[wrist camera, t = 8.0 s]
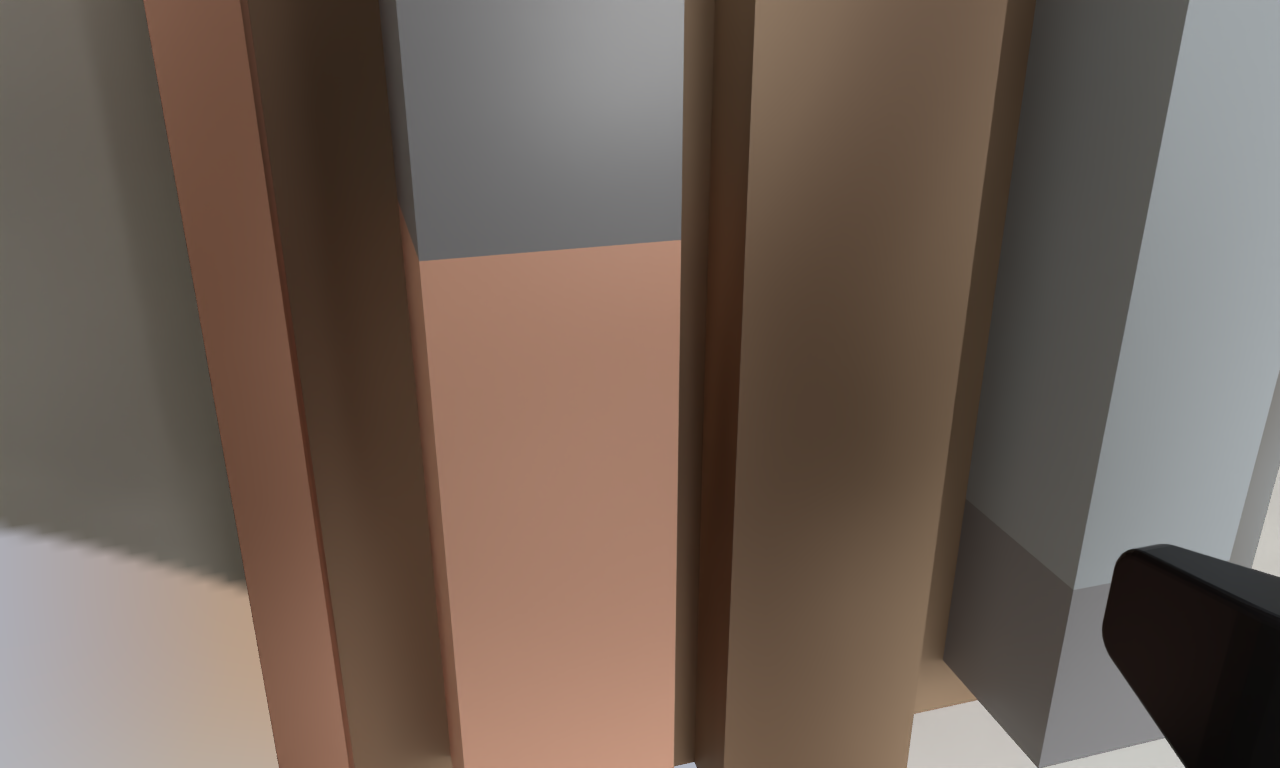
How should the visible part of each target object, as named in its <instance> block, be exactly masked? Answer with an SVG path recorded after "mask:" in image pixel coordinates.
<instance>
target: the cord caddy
mask: <svg viewBox="0 0 1280 768" xmlns="http://www.w3.org/2000/svg"><path fill="white" fill-rule="evenodd" d="M143 2H144V7H145V13H146V19H147V24H148V30H149V36H150V41H151V47H152V52H153V58H154V64H155V69H156V75H157V81H158V86H159V92H160V98H161V103H162V109H163V115H164V120H165V126H166V132H167V137H168V143H169V149H170V154H171V160H172V165H173V171H174V177H175V182H176V188H177V194H178V199H179V205H180V211H181V216H182V222H183V228H184V233H185V239H186V245H187V250H188V256H189V262H190V267H191V273H192V278H193V284H194V290H195V295H196V301H197V307H198V312H199V318H200V324H201V329H202V335H203V341H204V346H205V352H206V358H207V363H208V369H209V375H210V380H211V386H212V391H213V397H214V403H215V408H216V414H217V420H218V425H219V431H220V437H221V442H222V448H223V454H224V459H225V465H226V471H227V476H228V482H229V488H230V493H231V499H232V504H233V510H234V516H235V521H236V527H237V533H238V538H239V544H240V550H241V555H242V561H243V567H244V572H245V578H246V584H247V589H248V595H249V601H250V606H251V611H252V617H253V623H254V629H255V634H256V640H257V646H258V651H259V657H260V663H261V668H262V674H263V680H264V685H265V691H266V696H267V702H268V708H269V713H270V719H271V724H272V730H273V736H274V742H275V747H276V753H277V759H278V764H279V768H453V766H452V760H451V754H450V743H449V733H448V722H447V712H446V701H445V691H444V680H443V670H442V659H441V649H440V638H439V628H438V617H437V607H436V596H435V586H434V575H433V565H432V554H431V544H430V533H429V523H428V512H427V502H426V491H425V481H424V470H423V460H422V449H421V439H420V428H419V418H418V407H417V397H416V386H415V376H414V365H413V355H412V344H411V334H410V323H409V313H408V302H407V292H406V281H405V271H404V260H403V250H402V240H401V229H400V219H399V208H398V198H397V187H396V177H395V166H394V156H393V145H392V135H391V124H390V114H389V103H388V93H387V82H386V72H385V61H384V51H383V40H382V30H381V19H380V9H379V0H143ZM1035 6H1036V0H684V70H683V142H682V213H681V285H680V356H679V427H678V499H677V570H676V642H675V713H674V766H678V765H682V764H687V763H691V762H695V764H696V766H697V768H907V761H908V754H909V746H910V738H911V731H912V723H913V716H914V714H916V713H920V712H925V711H929V710H934V709H938V708H943V707H948V706H952V705H957V704H961V703H966V702H971V701H975V700H978V699H977V698H976V697H975V696H974V695H973V694H972V693H971V692H970V690H969V689H968V688H967V687H966V686H965V685H964V684H963V682H962V681H961V680H960V679H959V678H958V677H957V676H956V675H955V673H954V672H953V671H952V670H951V669H950V668H949V667H948V666H947V664H946V663H945V662H944V661H943V655H944V648H945V641H946V634H947V627H948V620H949V613H950V606H951V599H952V591H953V584H954V577H955V570H956V563H957V556H958V549H959V542H960V535H961V528H962V521H963V514H964V507H965V500H966V493H967V486H968V479H969V472H970V465H971V457H972V450H973V443H974V436H975V429H976V422H977V415H978V408H979V401H980V394H981V387H982V380H983V373H984V366H985V359H986V352H987V345H988V338H989V330H990V323H991V316H992V309H993V302H994V295H995V288H996V281H997V274H998V267H999V260H1000V253H1001V246H1002V239H1003V232H1004V225H1005V218H1006V211H1007V204H1008V196H1009V189H1010V182H1011V175H1012V168H1013V161H1014V154H1015V147H1016V140H1017V133H1018V126H1019V119H1020V112H1021V105H1022V98H1023V91H1024V84H1025V77H1026V70H1027V62H1028V55H1029V48H1030V41H1031V34H1032V27H1033V20H1034V13H1035ZM1279 466H1280V370H1279V374H1278V378H1277V382H1276V386H1275V389H1274V393H1273V397H1272V401H1271V405H1270V408H1269V412H1268V416H1267V420H1266V424H1265V427H1264V431H1263V435H1262V439H1261V443H1260V446H1259V450H1258V454H1257V458H1256V462H1255V465H1254V469H1253V473H1252V477H1251V481H1250V484H1249V488H1248V492H1247V496H1246V500H1245V503H1244V507H1243V511H1242V515H1241V519H1240V522H1239V526H1238V530H1237V534H1236V538H1235V541H1234V545H1233V549H1232V553H1231V557H1230V560H1229V562H1231V563H1234V564H1238V565H1241V566H1244V567H1248V568H1252V564H1253V560H1254V557H1255V553H1256V549H1257V546H1258V542H1259V539H1260V535H1261V531H1262V528H1263V524H1264V520H1265V517H1266V513H1267V509H1268V506H1269V502H1270V498H1271V495H1272V491H1273V487H1274V484H1275V480H1276V476H1277V473H1278V469H1279Z"/></svg>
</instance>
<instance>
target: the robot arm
mask: <svg viewBox="0 0 1280 768" xmlns="http://www.w3.org/2000/svg"><path fill="white" fill-rule="evenodd" d="M1102 638H1103V642H1104V646H1105V648H1106V650H1107V653H1108V655H1109V656H1110V658H1111V660H1112V661H1113V662H1114V664H1115V665H1116V667H1117V668H1118V670H1119V671H1120V673H1121V674H1122V676H1123V677H1124V679H1125V680H1126V681H1127V683H1128V684H1129V686H1130V687H1131V689H1132V690H1133V692H1134V693H1135V695H1136V696H1137V698H1138V699H1139V700H1140V702H1141V703H1142V705H1143V706H1144V708H1145V709H1146V711H1147V712H1148V714H1149V715H1150V717H1151V718H1152V719H1153V721H1154V722H1155V724H1156V725H1157V727H1158V728H1159V730H1160V731H1161V733H1162V734H1163V736H1164V737H1165V738H1166V740H1167V741H1168V743H1169V744H1170V746H1171V747H1172V749H1173V750H1174V752H1175V753H1176V755H1177V756H1178V757H1179V759H1180V760H1181V762H1182V763H1183V765H1184V766H1185V768H1280V577H1277V576H1274V575H1271V574H1267V573H1264V572H1261V571H1257V570H1254V569H1251V568H1248V567H1244V566H1241V565H1238V564H1234V563H1231V562H1228V561H1225V560H1221V559H1218V558H1215V557H1211V556H1208V555H1205V554H1201V553H1198V552H1195V551H1192V550H1188V549H1185V548H1182V547H1178V546H1175V545H1171V544H1155V545H1150V546H1145V547H1139V548H1134V549H1130V550H1127V551H1125V552H1124V553H1122V554H1121V555H1120V557H1119V558H1118V560H1117V561H1116V563H1115V566H1114V571H1113V575H1112V580H1111V585H1110V589H1109V594H1108V599H1107V604H1106V608H1105V613H1104V618H1103V623H1102Z"/></svg>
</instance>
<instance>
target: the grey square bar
mask: <svg viewBox="0 0 1280 768" xmlns="http://www.w3.org/2000/svg"><path fill="white" fill-rule="evenodd" d="M1279 370H1280V0H1036V6H1035V13H1034V20H1033V27H1032V34H1031V41H1030V48H1029V55H1028V62H1027V70H1026V77H1025V84H1024V91H1023V98H1022V105H1021V112H1020V119H1019V126H1018V133H1017V140H1016V147H1015V154H1014V161H1013V168H1012V175H1011V182H1010V189H1009V196H1008V204H1007V211H1006V218H1005V225H1004V232H1003V239H1002V246H1001V253H1000V260H999V267H998V274H997V281H996V288H995V295H994V302H993V309H992V316H991V323H990V330H989V338H988V345H987V352H986V359H985V366H984V373H983V380H982V387H981V394H980V401H979V408H978V415H977V422H976V429H975V436H974V443H973V450H972V457H971V465H970V472H969V479H968V486H967V493H966V500H965V507H964V514H963V521H962V528H961V535H960V542H959V549H958V556H957V563H956V570H955V577H954V584H953V591H952V599H951V606H950V613H949V620H948V627H947V634H946V641H945V648H944V655H943V661H944V662H945V663H946V664H947V666H948V667H949V668H950V669H951V670H952V671H953V672H954V673H955V675H956V676H957V677H958V678H959V679H960V680H961V681H962V682H963V684H964V685H965V686H966V687H967V688H968V689H969V690H970V692H971V693H972V694H973V695H974V696H975V697H976V698H977V699H978V701H979V702H980V703H981V704H982V705H983V706H984V707H985V709H986V710H987V711H988V712H989V713H990V714H991V715H992V716H993V718H994V719H995V720H996V721H997V722H998V723H999V724H1000V726H1001V727H1002V728H1003V729H1004V730H1005V731H1006V732H1007V733H1008V735H1009V736H1010V737H1011V738H1012V739H1013V740H1014V741H1015V743H1016V744H1017V745H1018V746H1019V747H1020V748H1021V749H1022V750H1023V752H1024V753H1025V754H1026V755H1027V756H1028V757H1029V758H1030V760H1031V761H1032V762H1033V763H1034V764H1035V765H1036V766H1037V767H1038V768H1043V767H1047V766H1051V765H1055V764H1059V763H1063V762H1068V761H1072V760H1076V759H1080V758H1084V757H1088V756H1092V755H1096V754H1101V753H1105V752H1109V751H1113V750H1117V749H1121V748H1125V747H1129V746H1134V745H1138V744H1142V743H1146V742H1150V741H1154V740H1158V739H1162V738H1165V737H1164V736H1163V734H1162V733H1161V731H1160V730H1159V728H1158V727H1157V725H1156V724H1155V722H1154V721H1153V719H1152V718H1151V717H1150V715H1149V714H1148V712H1147V711H1146V709H1145V708H1144V706H1143V705H1142V703H1141V702H1140V700H1139V699H1138V698H1137V696H1136V695H1135V693H1134V692H1133V690H1132V689H1131V687H1130V686H1129V684H1128V683H1127V681H1126V680H1125V679H1124V677H1123V676H1122V674H1121V673H1120V671H1119V670H1118V668H1117V667H1116V665H1115V664H1114V662H1113V661H1112V660H1111V658H1110V656H1109V655H1108V653H1107V650H1106V648H1105V646H1104V642H1103V638H1102V623H1103V618H1104V613H1105V608H1106V604H1107V599H1108V594H1109V589H1110V585H1111V580H1112V575H1113V571H1114V566H1115V563H1116V561H1117V560H1118V558H1119V557H1120V555H1121V554H1122V553H1124V552H1125V551H1127V550H1130V549H1134V548H1139V547H1145V546H1150V545H1155V544H1171V545H1175V546H1178V547H1182V548H1185V549H1188V550H1192V551H1195V552H1198V553H1201V554H1205V555H1208V556H1211V557H1215V558H1218V559H1221V560H1225V561H1228V562H1229V560H1230V557H1231V553H1232V549H1233V545H1234V541H1235V538H1236V534H1237V530H1238V526H1239V522H1240V519H1241V515H1242V511H1243V507H1244V503H1245V500H1246V496H1247V492H1248V488H1249V484H1250V481H1251V477H1252V473H1253V469H1254V465H1255V462H1256V458H1257V454H1258V450H1259V446H1260V443H1261V439H1262V435H1263V431H1264V427H1265V424H1266V420H1267V416H1268V412H1269V408H1270V405H1271V401H1272V397H1273V393H1274V389H1275V386H1276V382H1277V378H1278V374H1279Z"/></svg>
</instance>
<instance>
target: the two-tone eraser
mask: <svg viewBox="0 0 1280 768" xmlns="http://www.w3.org/2000/svg"><path fill="white" fill-rule="evenodd" d="M379 9H380V19H381V30H382V40H383V51H384V61H385V72H386V82H387V93H388V103H389V114H390V124H391V135H392V145H393V156H394V166H395V177H396V187H397V198H398V208H399V219H400V229H401V240H402V250H403V260H404V271H405V281H406V292H407V302H408V313H409V323H410V334H411V344H412V355H413V365H414V376H415V386H416V397H417V407H418V418H419V428H420V439H421V449H422V460H423V470H424V481H425V491H426V502H427V512H428V523H429V533H430V544H431V554H432V565H433V575H434V586H435V596H436V607H437V617H438V628H439V638H440V649H441V659H442V670H443V680H444V691H445V701H446V712H447V722H448V733H449V743H450V754H451V760H452V766H453V768H674V713H675V642H676V570H677V499H678V427H679V356H680V285H681V213H682V142H683V70H684V0H379Z"/></svg>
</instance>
